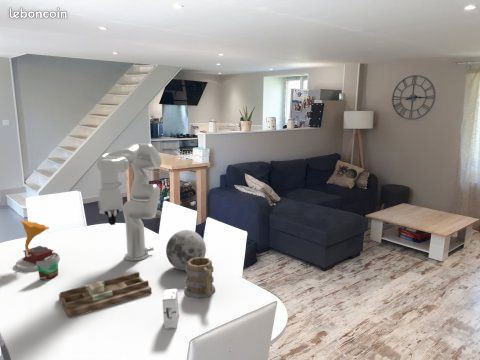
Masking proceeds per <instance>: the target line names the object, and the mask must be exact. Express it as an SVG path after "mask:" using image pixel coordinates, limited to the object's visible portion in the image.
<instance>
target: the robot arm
mask: <svg viewBox="0 0 480 360" xmlns="http://www.w3.org/2000/svg"><path fill="white" fill-rule="evenodd" d="M130 165H131V169H132V172H133V180H132V184H131V189H130V195H129V196H130V198H131V200H128V201H126V202H125V203H124V199H123V195H122V194H123V193H122V191H121V188H120V186H122V181H121V182H120V181H119V173H121V174H122V173H125V172H127V171H128V170H129V168H130ZM96 166H97V170H98V171H99V172H100V173H99V174H100V189H99V190H98V191H99V192H98V209H99V214H101V215H105V216H107V221H108V222H107V223H108V224H109V225H110V226H113V225H114V226H115V225H116V222H117V215H118V214H119V213H120V212H122V213H123V217H124V222H125V234H126V235H125V237H126V253H125V254H124V259H125V260H127V261H130V262H132V261H134V262H137V261H142V260H145V259H146V258H148V256H149V252H152V251H154V247H152V246H151V247H150V246H147V247H146V244H145V243H146V242H145V226H144V222H143V221H142V220H152V219H153V218H155V217H156V214H157V211H158V206H159V200H160V194H161V193H160V192H161V191H160V187H159V186H158V185H157V184H155V183H150V175H148V173H147V171H145V169H151V170H154V169H155V170H156V169H159V168H161V166H162V157H161V155H160V153H159V152H158V149H156V147H155V146H154V145H152V143H132V144H130V145H128V146H126V147H125V148H124V149H119V150H115V151H111V152H106V153H105V154H103V155H101V156H100V157H99V158H98V160H97V162H96ZM111 211H112V212H111Z"/></svg>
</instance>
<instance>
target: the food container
mask: <svg viewBox="0 0 480 360" xmlns="http://www.w3.org/2000/svg"><path fill="white" fill-rule="evenodd" d="M52 253H53V254H52V255H51V256H49V257H46V258H44V259H43V260H41V261H37V263H36V266H37V267H38V277H39V281H47V280H48V281H49V280H52V279H55V278H56V277H58V275H59V263H58V260H59V259H60V260H61V257H60V258H59V256H60V254H59V253H58V252H54V251H52Z"/></svg>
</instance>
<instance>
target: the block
mask: <svg viewBox="0 0 480 360" xmlns="http://www.w3.org/2000/svg"><path fill="white" fill-rule="evenodd" d="M87 285H88V290H89V294H90V295H91V296H93V295H97V294H100V293H104V285H103V284H102V283H101V281H100V280H99V281H96V282H92V283H89V284H87Z"/></svg>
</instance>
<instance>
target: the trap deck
mask: <svg viewBox="0 0 480 360" xmlns="http://www.w3.org/2000/svg"><path fill="white" fill-rule="evenodd" d="M100 282H101V283H102V284H103V285H104V293H100V294H97V295H93V296H91V295H90V294H89V290H88V284H86V285H83V286H79V287H74V288H71V289H67V290H63V291H60V292H59V294H58V299H59V301H60V303H61V306H62V308H63V310H64V311H65V314H66V316H67V318H68V319H71V318H74V317H77V316H80V315H83V314H88V313H90V312H93V311H97V310H100V309H103V308H107V307H110V306H113V305H117V304H120V303H122V302H124V303H125V302H126V301H129V300H133V299H137V298H139V297H144V296H146V295H149V294H152V293H153V292H152V287H151V286H150V285H149V280H144V279H143V278H142V277H141V276H140V272H139V271H136V272H131V273H128V274H125V275H122V276H117V277H113V278H109V279H106V280H102V281H100Z"/></svg>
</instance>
